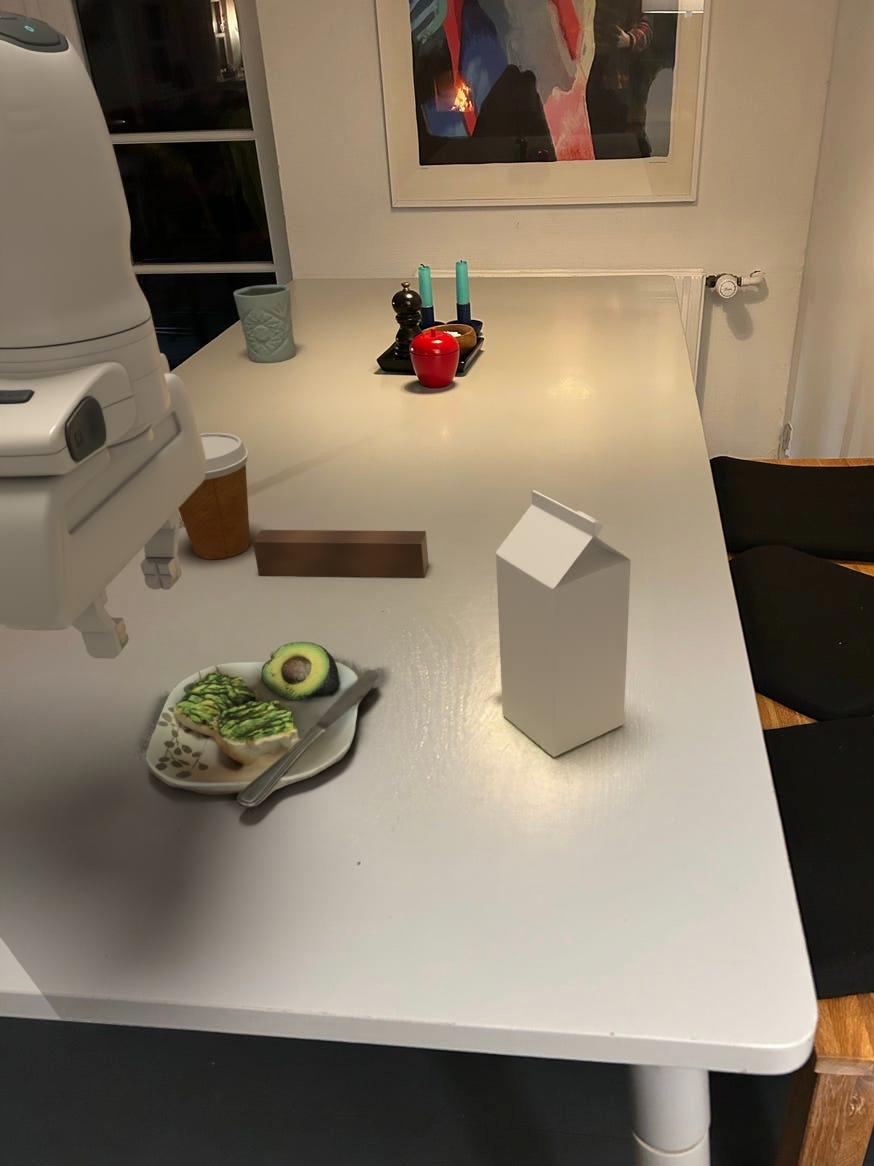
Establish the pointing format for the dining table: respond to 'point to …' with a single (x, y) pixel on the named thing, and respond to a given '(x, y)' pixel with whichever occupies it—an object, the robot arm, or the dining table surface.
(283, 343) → the drinking glass
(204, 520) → the disposable coffee cup
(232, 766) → the salad plate
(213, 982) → the dining table surface
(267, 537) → the rail
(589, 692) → the milk carton
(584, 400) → the dining table surface
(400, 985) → the dining table surface
